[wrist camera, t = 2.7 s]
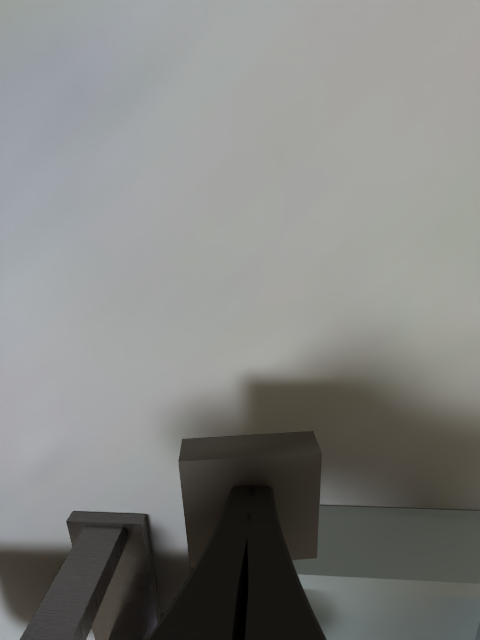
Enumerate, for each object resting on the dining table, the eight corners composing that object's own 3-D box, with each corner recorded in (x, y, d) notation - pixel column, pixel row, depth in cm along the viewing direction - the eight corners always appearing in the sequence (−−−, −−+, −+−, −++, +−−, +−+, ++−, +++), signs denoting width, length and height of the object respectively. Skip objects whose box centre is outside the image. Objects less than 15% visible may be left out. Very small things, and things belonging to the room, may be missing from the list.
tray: (473, 675, 20) (513, 767, 17) (264, 660, 21) (262, 743, 18) (516, 511, 17) (576, 588, 13) (260, 503, 18) (257, 572, 14)
